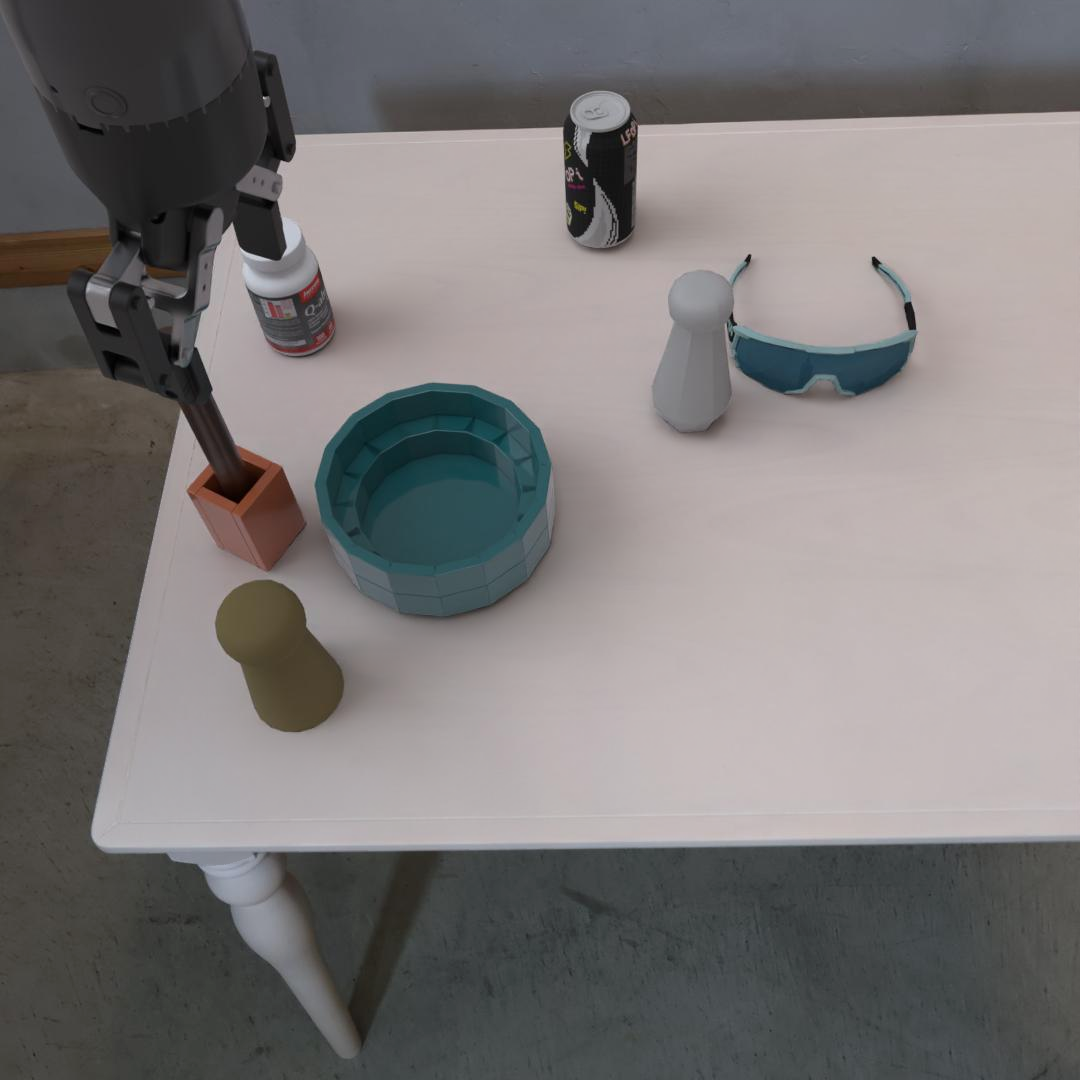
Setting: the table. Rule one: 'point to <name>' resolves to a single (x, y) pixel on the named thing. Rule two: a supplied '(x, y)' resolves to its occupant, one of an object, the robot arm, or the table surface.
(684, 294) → the salt shaker
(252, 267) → the pill bottle
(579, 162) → the beverage can
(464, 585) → the bowl
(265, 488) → the holder
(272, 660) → the cork
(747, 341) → the sunglasses
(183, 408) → the stick
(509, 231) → the table surface
